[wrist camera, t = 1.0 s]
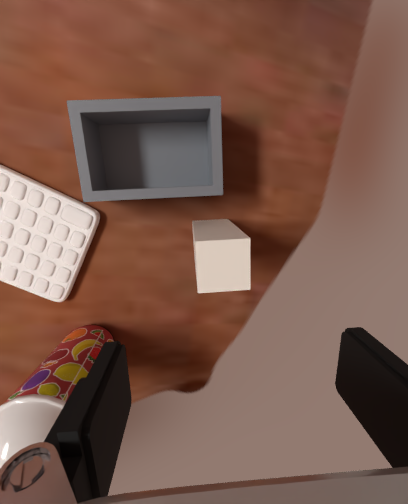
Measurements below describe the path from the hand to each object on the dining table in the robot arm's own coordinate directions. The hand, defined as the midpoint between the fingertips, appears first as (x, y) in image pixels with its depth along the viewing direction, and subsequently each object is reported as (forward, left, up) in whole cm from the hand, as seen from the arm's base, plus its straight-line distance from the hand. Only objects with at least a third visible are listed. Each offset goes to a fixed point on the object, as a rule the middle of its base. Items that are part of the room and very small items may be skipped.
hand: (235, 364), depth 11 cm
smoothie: (+13, -16, -23) cm, 31 cm away
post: (-1, +1, -23) cm, 23 cm away
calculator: (-4, -24, -24) cm, 34 cm away
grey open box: (-11, -5, -23) cm, 26 cm away
